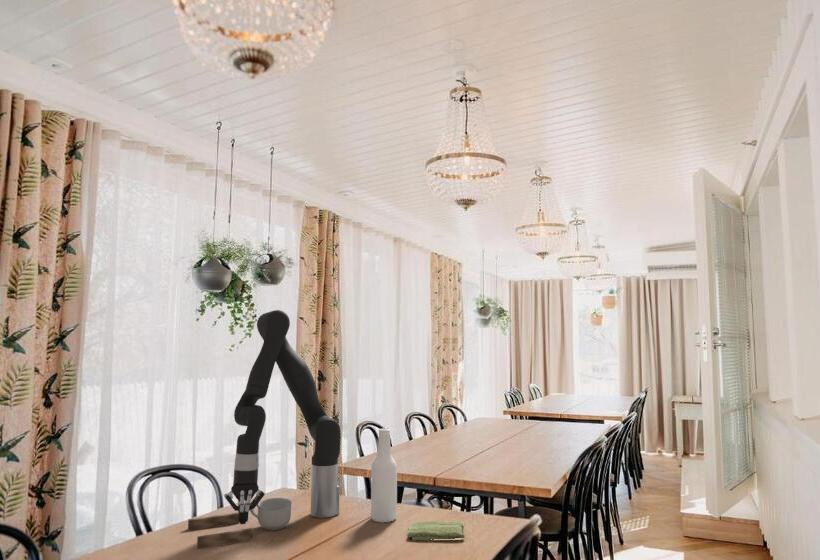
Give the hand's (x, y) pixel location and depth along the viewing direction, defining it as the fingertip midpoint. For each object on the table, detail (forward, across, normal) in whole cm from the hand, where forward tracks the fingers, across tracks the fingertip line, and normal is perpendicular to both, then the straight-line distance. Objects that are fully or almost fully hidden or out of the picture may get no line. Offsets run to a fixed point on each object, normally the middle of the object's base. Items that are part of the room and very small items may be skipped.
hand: (242, 523), depth 183 cm
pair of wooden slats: (+3, +7, 0) cm, 7 cm away
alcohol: (+1, -45, +11) cm, 46 cm away
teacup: (+2, -9, 0) cm, 9 cm away
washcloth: (+1, -53, +32) cm, 62 cm away
